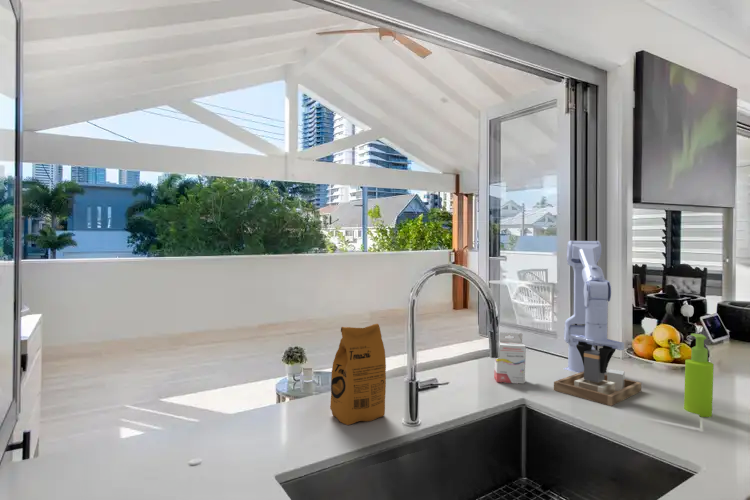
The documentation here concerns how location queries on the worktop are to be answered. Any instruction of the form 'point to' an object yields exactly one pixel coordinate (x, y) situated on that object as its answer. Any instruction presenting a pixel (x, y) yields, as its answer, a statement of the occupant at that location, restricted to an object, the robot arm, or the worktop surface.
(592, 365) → the dark grey tall block
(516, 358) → the ink cartridge box
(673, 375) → the worktop surface
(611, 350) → the robot arm
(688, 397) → the soap dispenser
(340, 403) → the coffee package
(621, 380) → the grey plug
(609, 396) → the walled box
